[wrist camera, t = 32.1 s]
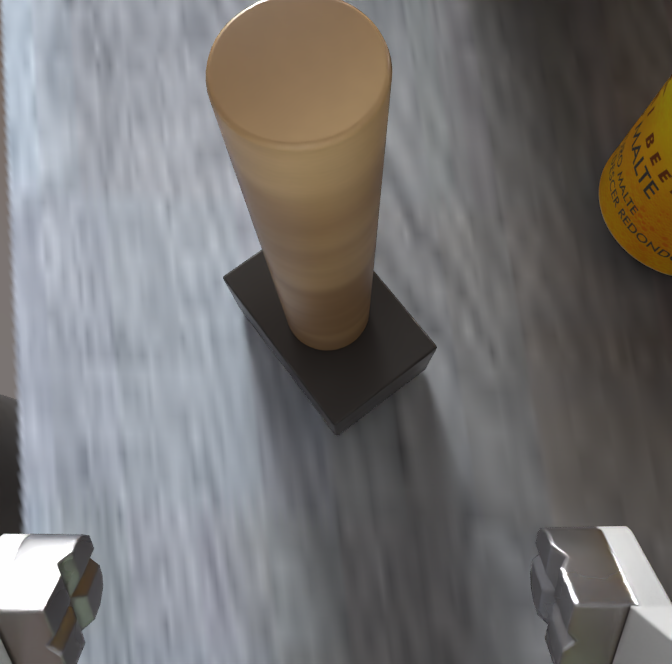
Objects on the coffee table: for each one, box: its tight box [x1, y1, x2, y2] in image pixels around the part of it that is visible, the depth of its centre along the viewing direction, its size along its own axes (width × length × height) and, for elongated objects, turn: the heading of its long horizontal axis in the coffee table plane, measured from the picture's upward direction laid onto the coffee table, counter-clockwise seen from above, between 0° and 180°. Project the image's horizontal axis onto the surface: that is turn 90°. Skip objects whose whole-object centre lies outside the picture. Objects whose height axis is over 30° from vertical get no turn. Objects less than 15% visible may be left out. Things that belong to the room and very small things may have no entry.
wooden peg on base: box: [206, 0, 437, 436], centre depth 15 cm, size 6×4×14 cm, turn 37°
